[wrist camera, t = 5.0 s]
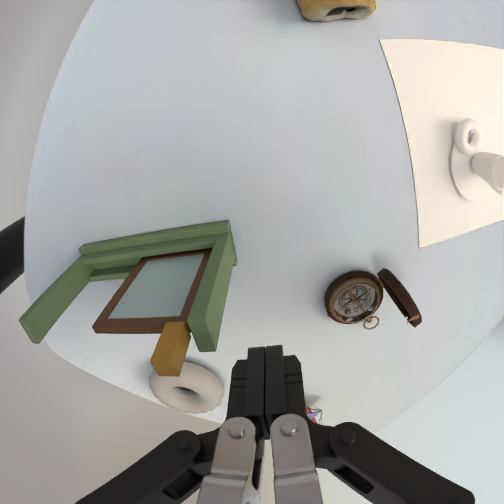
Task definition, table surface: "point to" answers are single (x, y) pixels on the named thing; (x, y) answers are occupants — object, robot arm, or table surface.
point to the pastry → (336, 9)
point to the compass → (367, 297)
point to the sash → (158, 305)
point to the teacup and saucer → (452, 132)
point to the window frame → (124, 261)
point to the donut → (193, 378)
